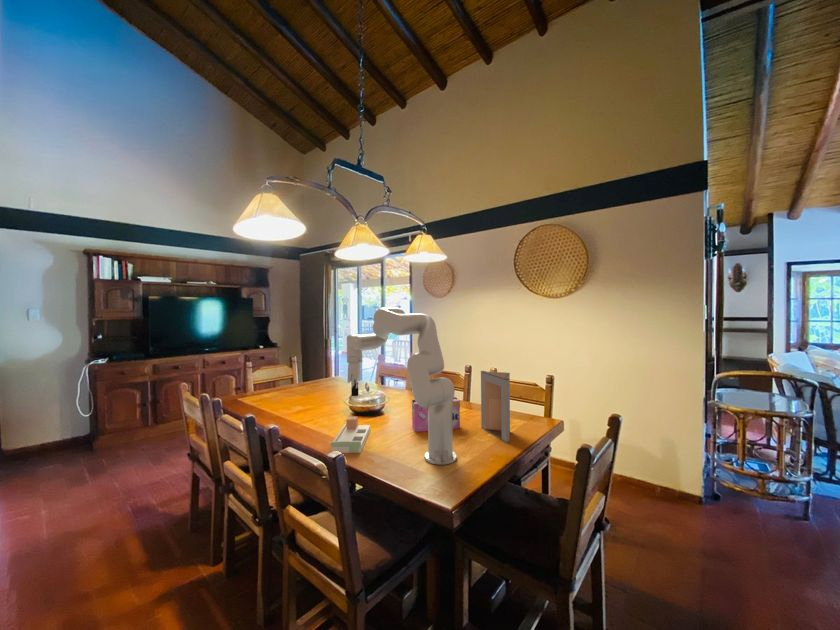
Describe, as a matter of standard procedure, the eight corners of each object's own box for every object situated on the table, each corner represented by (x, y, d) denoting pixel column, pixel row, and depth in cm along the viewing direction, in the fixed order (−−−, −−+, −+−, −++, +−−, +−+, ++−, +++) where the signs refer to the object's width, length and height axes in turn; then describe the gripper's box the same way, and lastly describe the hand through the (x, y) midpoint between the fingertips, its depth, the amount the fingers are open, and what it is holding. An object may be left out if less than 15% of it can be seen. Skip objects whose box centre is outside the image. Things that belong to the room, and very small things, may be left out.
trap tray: (360, 452, 143) (360, 441, 143) (331, 453, 143) (331, 442, 143) (370, 430, 169) (370, 421, 169) (345, 430, 169) (345, 421, 169)
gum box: (458, 423, 178) (457, 396, 177) (462, 428, 170) (462, 400, 170) (411, 426, 173) (411, 399, 173) (414, 432, 166) (414, 404, 165)
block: (356, 429, 164) (355, 419, 163) (346, 429, 164) (346, 419, 164) (357, 425, 168) (357, 416, 168) (348, 426, 168) (348, 416, 168)
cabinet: (481, 427, 170) (480, 370, 170) (498, 425, 174) (497, 369, 173) (506, 443, 151) (505, 378, 150) (524, 439, 154) (524, 377, 154)
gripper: (350, 356, 181) (350, 391, 181) (343, 361, 166) (344, 399, 167) (364, 356, 181) (364, 391, 181) (359, 361, 166) (359, 399, 166)
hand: (354, 395), depth 174 cm, fingers closed
